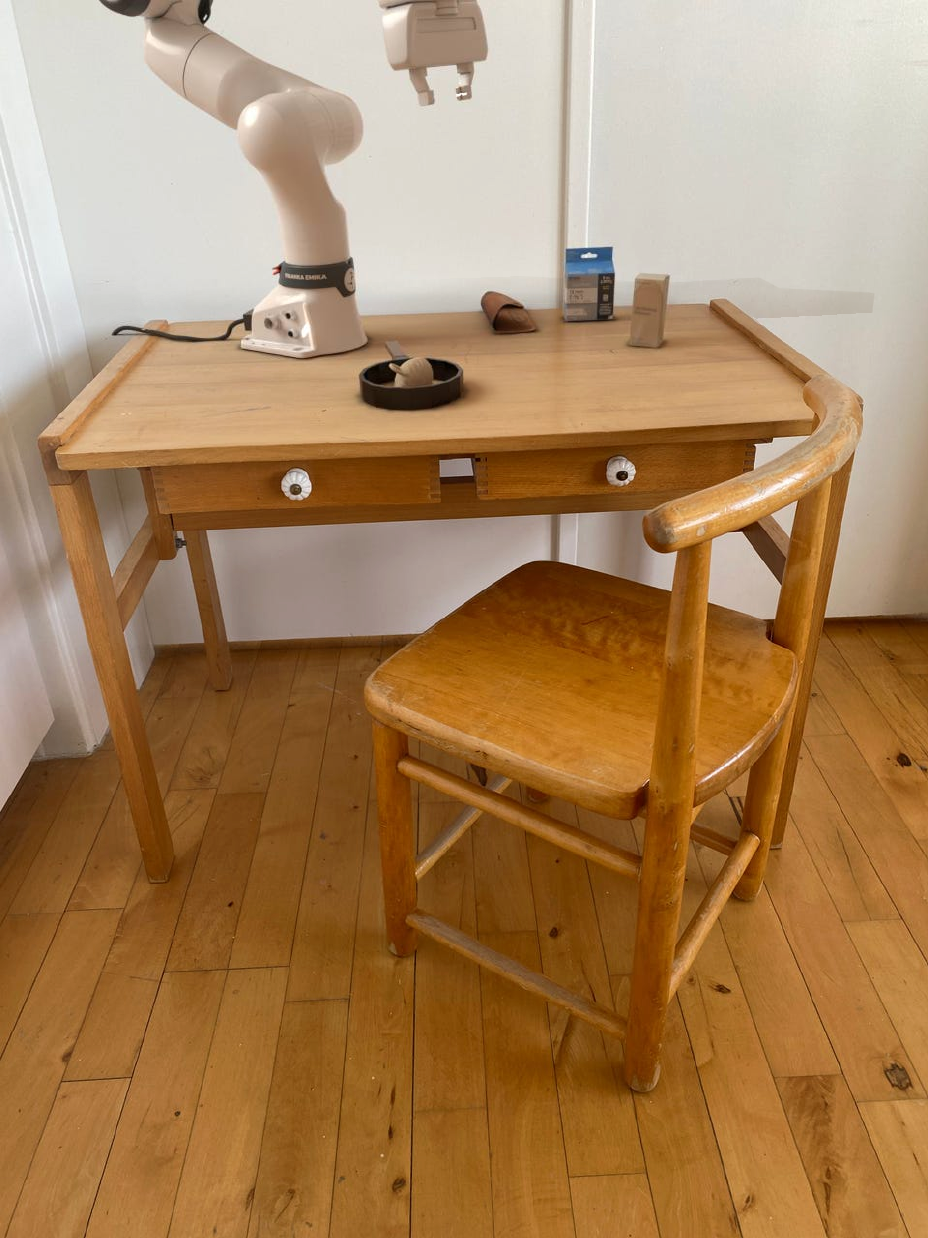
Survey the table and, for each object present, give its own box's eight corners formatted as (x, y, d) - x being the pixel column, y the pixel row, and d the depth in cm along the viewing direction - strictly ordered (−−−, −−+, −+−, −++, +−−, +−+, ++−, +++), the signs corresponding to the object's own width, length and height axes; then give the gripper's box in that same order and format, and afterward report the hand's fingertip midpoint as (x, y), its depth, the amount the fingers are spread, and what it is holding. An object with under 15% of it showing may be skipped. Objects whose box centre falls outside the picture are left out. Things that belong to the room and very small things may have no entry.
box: (628, 345, 156) (632, 277, 150) (634, 339, 159) (638, 272, 153) (659, 348, 154) (665, 278, 148) (664, 341, 157) (670, 273, 151)
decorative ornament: (442, 390, 139) (441, 354, 136) (397, 403, 134) (395, 366, 132) (426, 384, 142) (424, 349, 139) (381, 396, 137) (379, 361, 134)
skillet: (473, 403, 133) (473, 381, 132) (369, 414, 131) (367, 392, 129) (436, 355, 155) (435, 336, 153) (346, 364, 152) (344, 345, 150)
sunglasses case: (539, 328, 165) (520, 296, 162) (506, 350, 167) (487, 319, 163) (522, 305, 180) (505, 275, 177) (492, 326, 182) (474, 297, 179)
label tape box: (565, 322, 170) (567, 251, 164) (563, 316, 174) (564, 247, 167) (613, 320, 170) (616, 249, 164) (610, 315, 174) (613, 245, 167)
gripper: (456, -8, 136) (468, 99, 142) (368, -8, 122) (386, 111, 128) (492, -16, 132) (502, 93, 139) (406, -17, 118) (422, 105, 125)
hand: (446, 102), depth 134 cm, fingers open, 8 cm apart
